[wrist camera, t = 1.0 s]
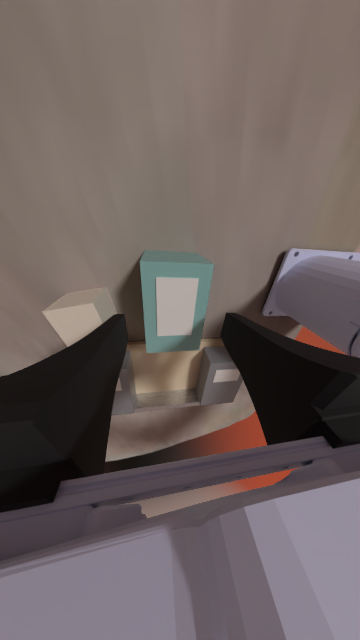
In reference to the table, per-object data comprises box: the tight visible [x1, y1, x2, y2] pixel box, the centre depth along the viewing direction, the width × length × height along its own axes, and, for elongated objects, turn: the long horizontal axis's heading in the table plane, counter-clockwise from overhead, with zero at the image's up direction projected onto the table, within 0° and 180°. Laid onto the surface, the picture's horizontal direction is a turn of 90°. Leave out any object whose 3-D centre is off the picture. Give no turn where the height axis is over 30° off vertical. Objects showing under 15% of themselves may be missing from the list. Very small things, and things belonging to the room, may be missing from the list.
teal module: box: [140, 250, 214, 353], centre depth 14 cm, size 5×8×6 cm, turn 177°
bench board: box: [126, 338, 224, 394], centre depth 23 cm, size 22×12×1 cm, turn 86°
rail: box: [134, 388, 200, 412], centre depth 24 cm, size 21×1×2 cm, turn 86°
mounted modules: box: [111, 346, 243, 416], centre depth 21 cm, size 21×10×3 cm, turn 86°
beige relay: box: [42, 287, 117, 347], centre depth 15 cm, size 4×6×4 cm, turn 7°
